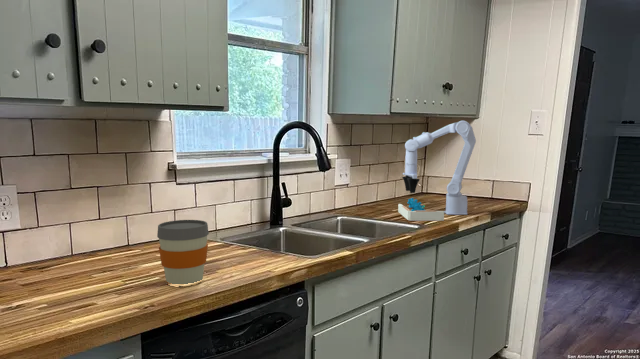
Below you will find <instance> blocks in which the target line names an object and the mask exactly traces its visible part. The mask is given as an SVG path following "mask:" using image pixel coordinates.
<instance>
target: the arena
mask: <svg viewBox="0 0 640 359" xmlns="http://www.w3.org/2000/svg"><path fill="white" fill-rule="evenodd" d="M397 209H398V210H397V212H398V213H399V214H400V215H401V216H403V218H405V219H406V220H408V221H411V222H413V221H414V222H417V221H418V222H422V221H426V222H427V221H428V222H429V221H430V222H431V221H432V222H433V221H438V222H441V221H443V222H444V221H445V213H444V211H445V210H433V209H432V210H426V211H411V210H410V209H411V208H409V207H407V206H406V205H403V204H402V203H398V208H397Z"/></svg>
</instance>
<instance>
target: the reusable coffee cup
mask: <svg viewBox="0 0 640 359" xmlns="http://www.w3.org/2000/svg"><path fill="white" fill-rule="evenodd" d="M209 233H210V232H209V224H208V221H204V220H199V219H179V220H177V219H176V220H170V221H164V222H161V223H159V224H158V225H157V235H156V237H157V238H158V240H159V247H158V251H159V252H158V253H159V257H160V262H161V266H162V267H163V271H164V277H165V282H166V281H167V282H169V283H172V284H188V283H194V282H197V281H200V280H202V279H203V280H204V272H205V271H204V269H205V264H206V263H207V257H208V248H209V247H208V246H209V244H208V243H207V242H208V235H209Z"/></svg>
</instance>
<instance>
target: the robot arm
mask: <svg viewBox="0 0 640 359" xmlns="http://www.w3.org/2000/svg"><path fill="white" fill-rule="evenodd" d="M449 133H450V134H452V133H453V134H456V133H457V134H458V135H460V136H461V138H462V140H463V141H464V143H463V147H462V149H461V152H460V156H459V158H458V162H457V164H456V167H455V170H454V173H453V175H452V178H451V180H450V181H449V183H447V186H446V192H447V193H446V194H445V198H446V199H445V201H446V202H445V210H443V211H444V214H446V215H447V216H448V215H456V216H457V215H460V216H461V215H468V196H467V195H465V194H464V195H463V193H461V190H462V188H463V187H462V186H463V185H462V182H463V179H464V176H465V172H467V168H468V165H469V163H470V160H471V159H470V158H471V156H472V154H473V151H474V148H475V145H476V142H477V140H476V136H475V133H474V129H473V126H472V125H471V124H470V123H469V122H468V121H466V120H460V121H457V122H453V123H450V124H447V125H445V126H443V127H441V128H439V129H437V130H435V131H433V132H428V131H427V132H425V131H423V132H422V133H421V134H420V135H418V136H413V137H412V138H411V139H410V138H409V139H408V140H407V141H406V142H405V144H404V148H405V158H404V160H405V162H404V163H405V164H404V172H402V175H403V176H402V180H403V182H404V183H403V184H404V187H405V191H406V192H409V193H410V194H415V193H416V190H417V186H418V184H419V181H420V178H418V149H422V148H424V147H427V146H428V145H431V144H433V141H434V140H435V139H437V138H440V137H441V136H444V135H447V134H449Z"/></svg>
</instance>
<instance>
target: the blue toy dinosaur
mask: <svg viewBox="0 0 640 359" xmlns="http://www.w3.org/2000/svg"><path fill="white" fill-rule="evenodd" d="M407 205H408V209H411V210H410V211H427V210H426V209H425V207H426V205H425V204H423V205H422V202H421V201H419V202H418V199H416V198H414V197H411V198H408V199H407Z"/></svg>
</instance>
